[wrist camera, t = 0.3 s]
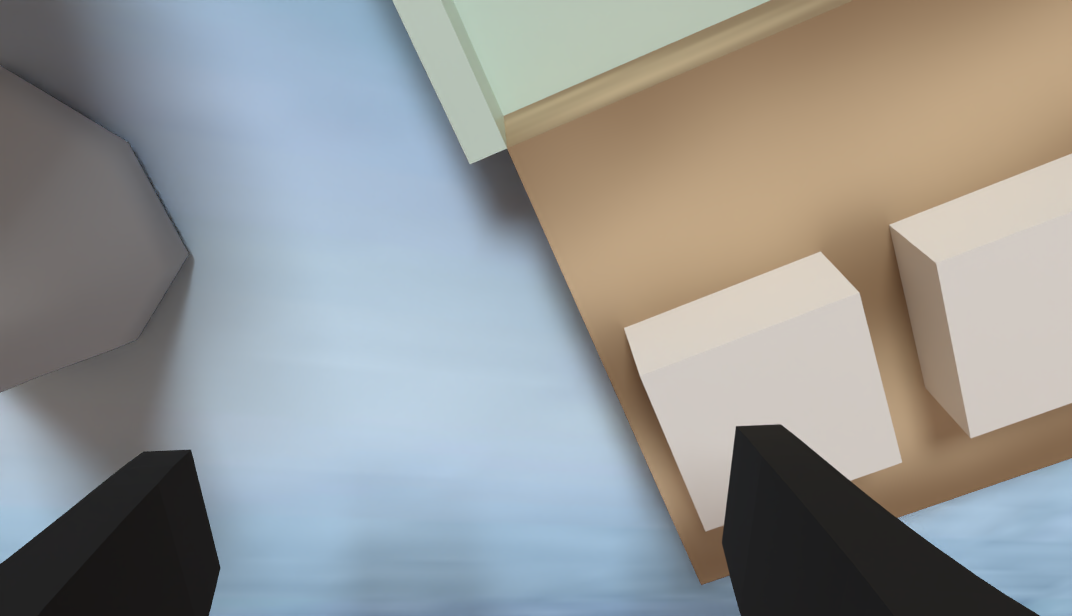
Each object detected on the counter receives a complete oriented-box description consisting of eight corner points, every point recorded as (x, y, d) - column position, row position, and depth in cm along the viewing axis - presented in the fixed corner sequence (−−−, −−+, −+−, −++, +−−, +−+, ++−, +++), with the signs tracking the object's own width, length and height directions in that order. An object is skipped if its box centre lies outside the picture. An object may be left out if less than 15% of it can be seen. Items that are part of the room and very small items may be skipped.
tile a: (863, 410, 19) (902, 462, 18) (685, 474, 20) (705, 531, 18) (820, 251, 17) (859, 292, 16) (624, 327, 18) (639, 376, 16)
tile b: (1117, 318, 19) (1185, 362, 17) (925, 387, 19) (971, 438, 17) (1103, 141, 17) (1178, 171, 15) (888, 224, 17) (936, 263, 15)
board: (1078, 365, 23) (1157, 428, 20) (676, 509, 24) (700, 585, 22) (1025, -116, 17) (1126, -117, 14) (503, 112, 19) (506, 148, 16)
